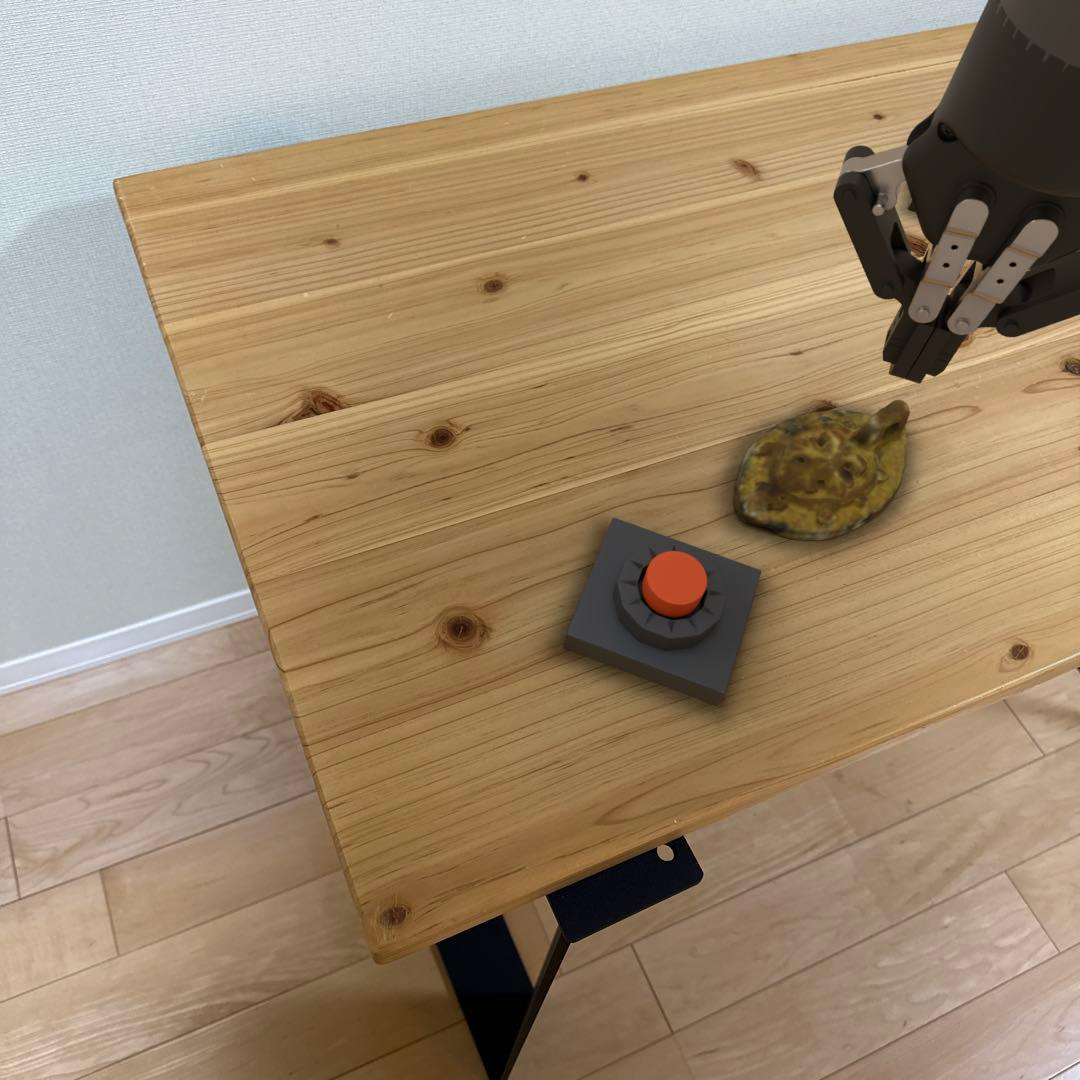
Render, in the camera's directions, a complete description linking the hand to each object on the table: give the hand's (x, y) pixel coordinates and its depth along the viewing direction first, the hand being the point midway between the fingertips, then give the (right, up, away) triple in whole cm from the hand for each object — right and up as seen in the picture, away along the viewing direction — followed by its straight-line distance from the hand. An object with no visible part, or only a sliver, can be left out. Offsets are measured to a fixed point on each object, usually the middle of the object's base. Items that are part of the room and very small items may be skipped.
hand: (907, 366), depth 45 cm
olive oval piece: (+2, -4, +23) cm, 24 cm away
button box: (-10, -13, +17) cm, 23 cm away
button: (-9, -11, +13) cm, 20 cm away
